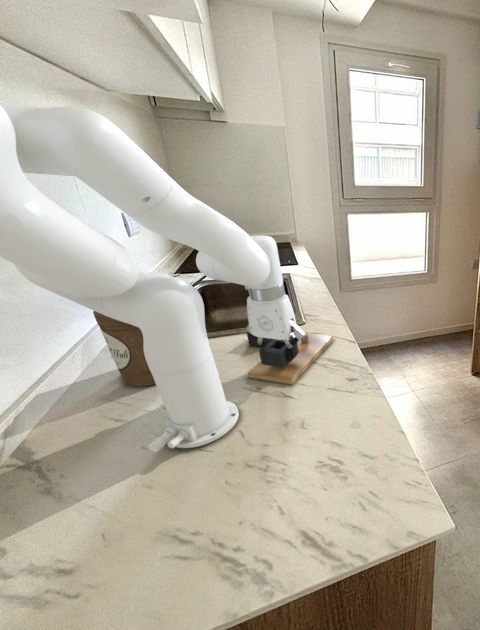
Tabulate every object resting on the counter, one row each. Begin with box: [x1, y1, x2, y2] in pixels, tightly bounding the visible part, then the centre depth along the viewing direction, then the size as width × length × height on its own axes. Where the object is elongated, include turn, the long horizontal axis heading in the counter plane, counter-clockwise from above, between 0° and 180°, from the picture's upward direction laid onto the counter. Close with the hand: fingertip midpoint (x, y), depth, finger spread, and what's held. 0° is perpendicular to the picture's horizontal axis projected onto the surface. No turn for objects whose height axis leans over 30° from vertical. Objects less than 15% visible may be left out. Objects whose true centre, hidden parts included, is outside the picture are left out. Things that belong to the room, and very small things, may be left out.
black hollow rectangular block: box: [258, 339, 299, 368], centre depth 83 cm, size 7×6×4 cm
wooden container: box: [92, 310, 156, 387], centre depth 80 cm, size 15×15×22 cm
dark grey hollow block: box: [246, 331, 273, 348], centre depth 97 cm, size 7×6×4 cm
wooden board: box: [247, 331, 334, 385], centre depth 89 cm, size 22×12×4 cm, turn 168°
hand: (280, 356), depth 84 cm, fingers closed on black hollow rectangular block, 6 cm apart
